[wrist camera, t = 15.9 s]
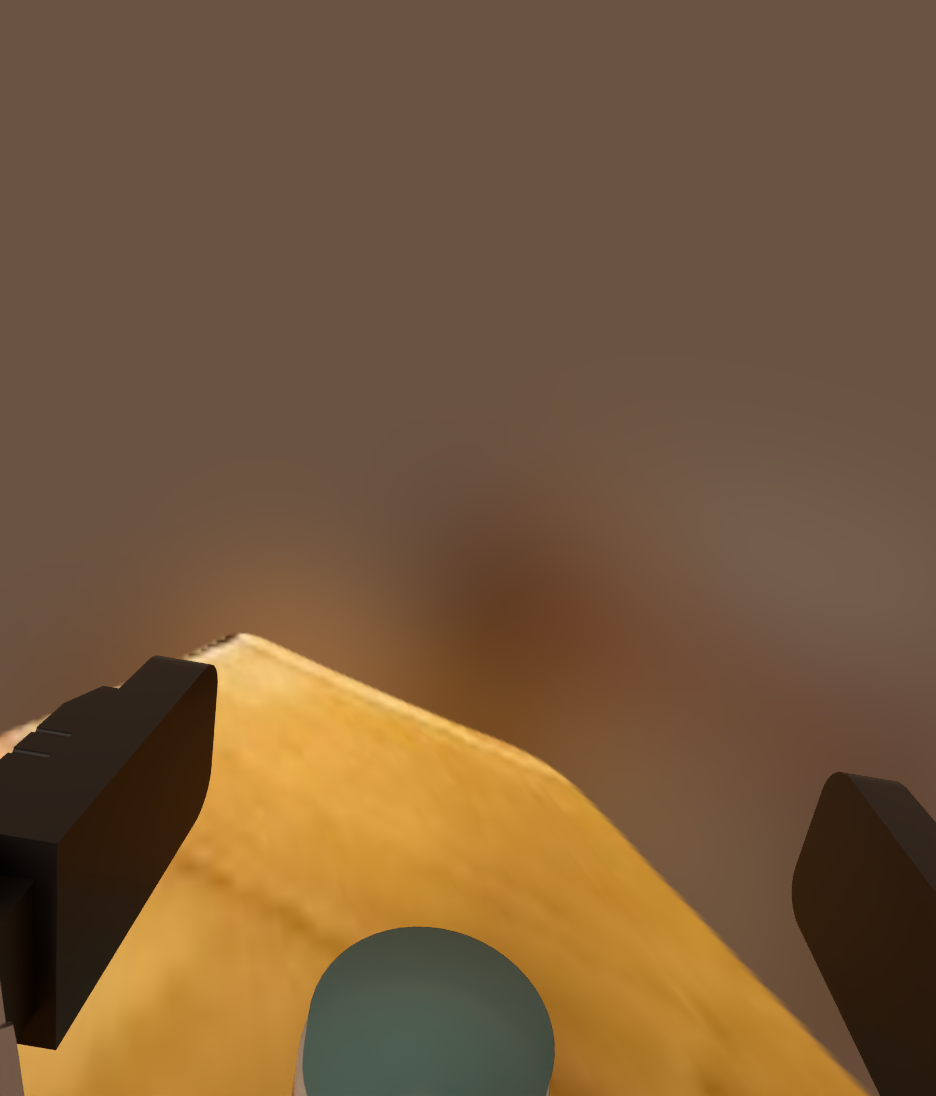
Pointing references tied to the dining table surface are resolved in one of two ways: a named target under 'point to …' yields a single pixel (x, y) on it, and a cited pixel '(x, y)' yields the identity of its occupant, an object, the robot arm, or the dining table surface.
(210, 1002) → the dining table surface
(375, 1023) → the canister
